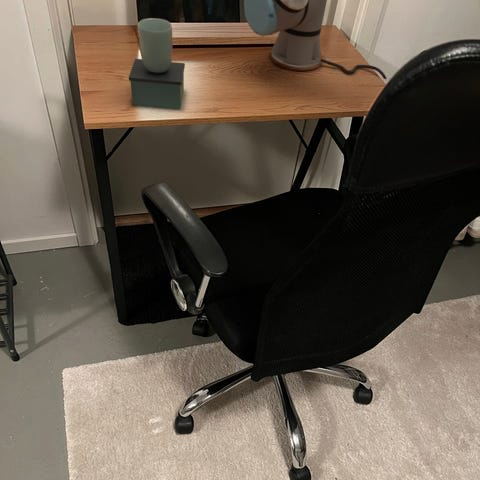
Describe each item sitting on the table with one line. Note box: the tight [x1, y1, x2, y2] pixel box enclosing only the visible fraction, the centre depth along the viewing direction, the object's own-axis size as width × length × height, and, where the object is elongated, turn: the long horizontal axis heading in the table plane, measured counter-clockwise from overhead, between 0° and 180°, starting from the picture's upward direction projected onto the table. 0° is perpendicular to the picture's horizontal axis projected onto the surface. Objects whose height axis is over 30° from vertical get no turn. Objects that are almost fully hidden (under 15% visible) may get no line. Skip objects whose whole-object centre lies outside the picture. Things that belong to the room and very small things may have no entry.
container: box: [128, 58, 186, 110], centre depth 117 cm, size 13×11×7 cm
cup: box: [137, 17, 174, 73], centre depth 111 cm, size 8×8×10 cm
